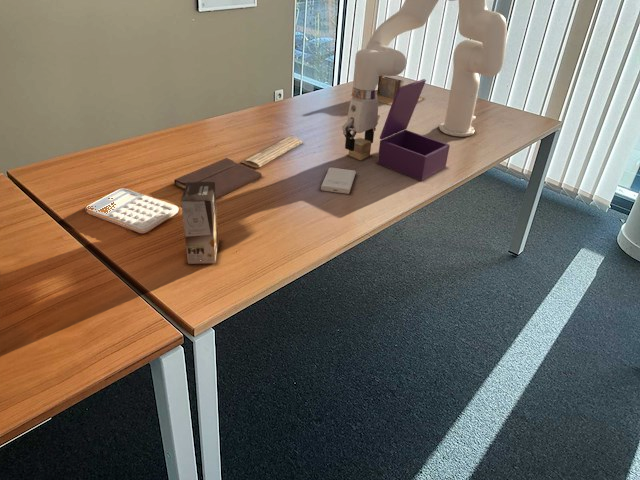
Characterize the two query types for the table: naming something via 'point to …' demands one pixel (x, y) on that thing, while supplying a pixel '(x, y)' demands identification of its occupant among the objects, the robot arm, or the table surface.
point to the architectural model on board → (388, 89)
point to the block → (361, 149)
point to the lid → (402, 108)
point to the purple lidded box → (413, 154)
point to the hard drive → (338, 180)
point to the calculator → (134, 210)
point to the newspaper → (272, 152)
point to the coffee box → (200, 222)
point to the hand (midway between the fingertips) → (359, 145)
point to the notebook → (221, 176)
